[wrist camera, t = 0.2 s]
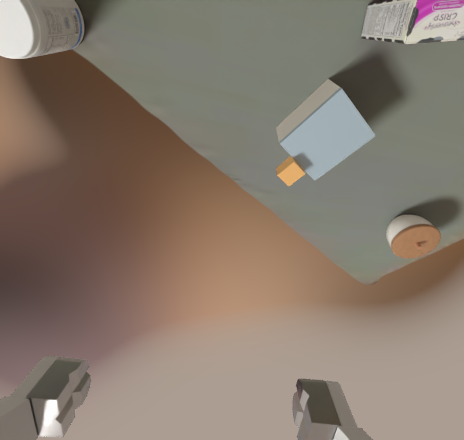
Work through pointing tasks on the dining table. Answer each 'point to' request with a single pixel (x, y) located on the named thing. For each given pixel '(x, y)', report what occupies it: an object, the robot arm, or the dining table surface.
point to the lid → (324, 139)
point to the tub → (306, 108)
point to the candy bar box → (414, 21)
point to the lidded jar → (412, 236)
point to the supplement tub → (39, 27)
